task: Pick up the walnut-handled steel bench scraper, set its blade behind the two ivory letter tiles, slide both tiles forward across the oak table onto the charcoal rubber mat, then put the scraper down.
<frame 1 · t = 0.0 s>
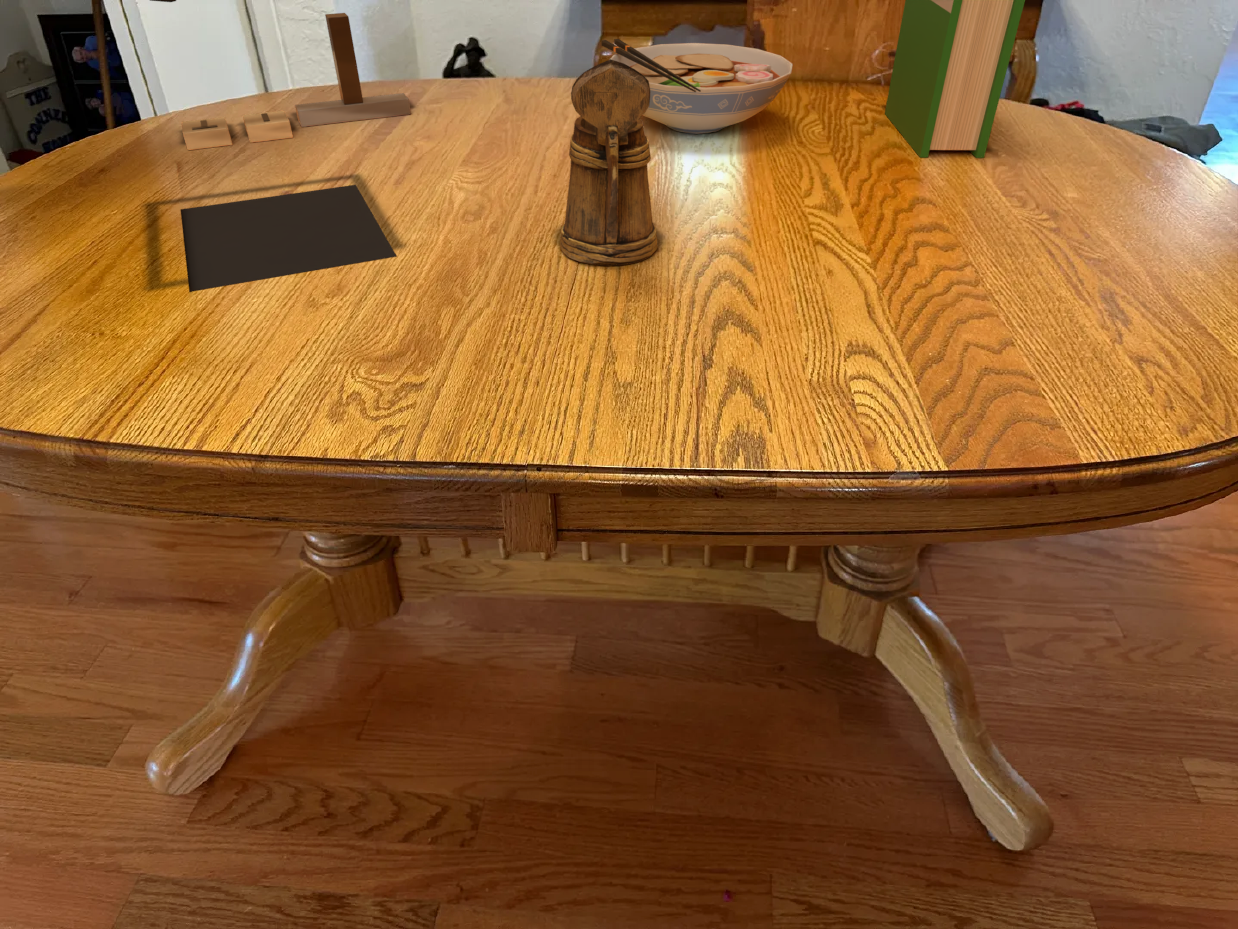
tile a: (209, 141, 103), on the table
hardback book: (930, 135, 106), on the table
ramen bowl: (695, 127, 109), on the table
tile b: (269, 134, 105), on the table
wooden mug: (609, 259, 77), on the table
scraper: (355, 117, 111), on the table
mat: (269, 234, 81), on the table
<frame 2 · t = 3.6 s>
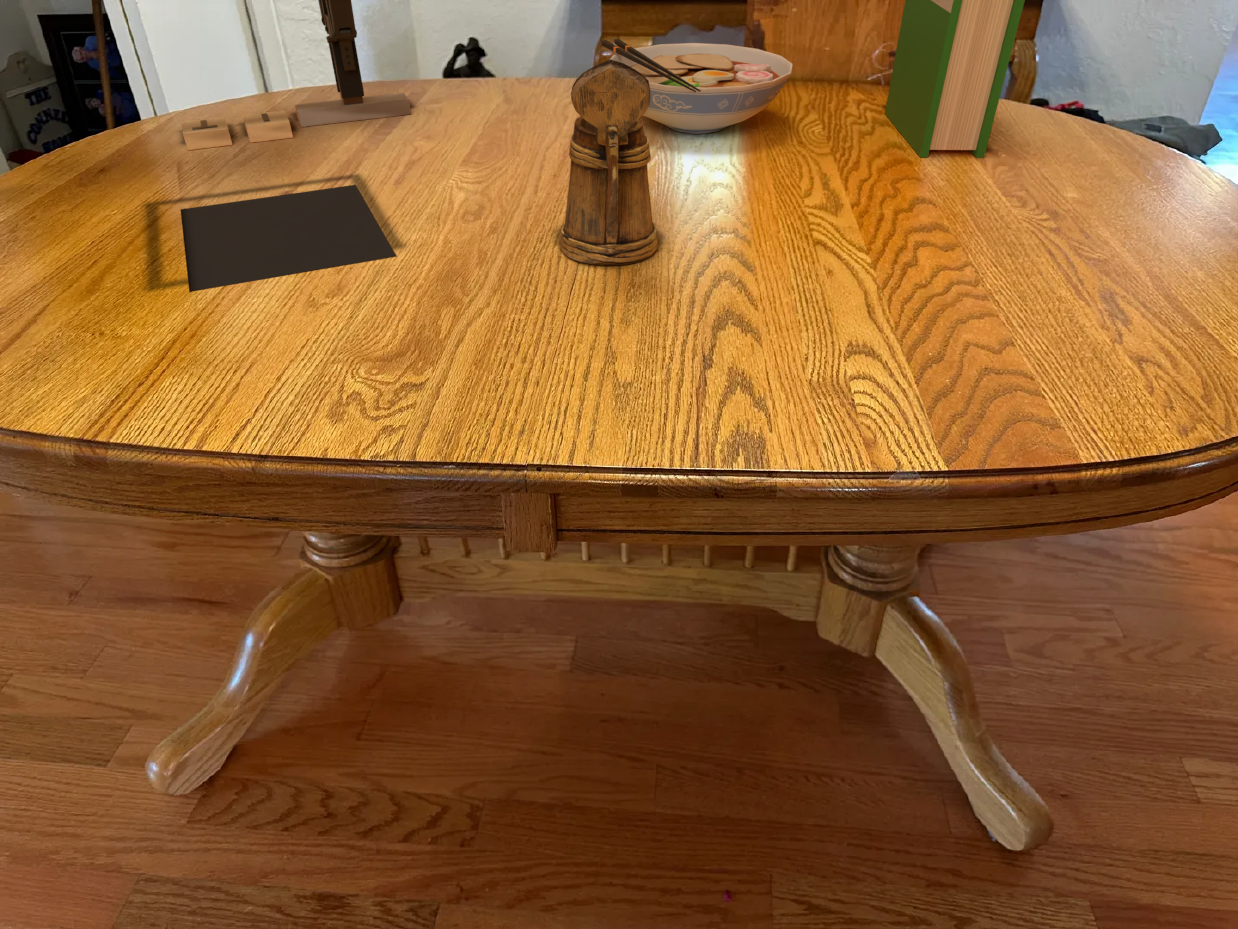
hand: (350, 93, 109), 3 cm above the table, tool pointing down, fingers closed on scraper, 2 cm apart
scraper: (355, 117, 111), on the table, touching gripper
everything else where it was.
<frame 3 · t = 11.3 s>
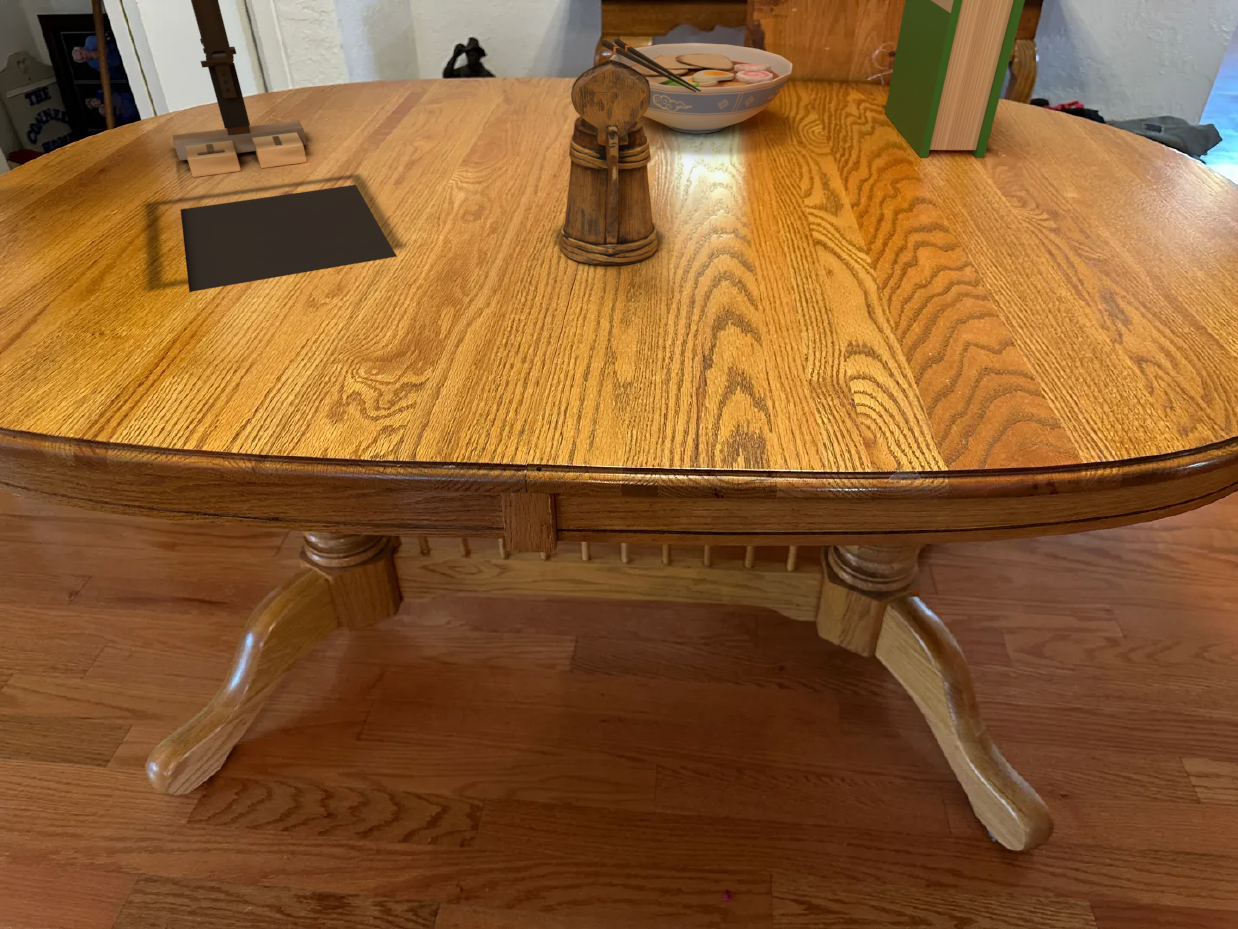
hand: (236, 121, 98), 3 cm above the table, tool pointing down, fingers closed on scraper, 2 cm apart
tile a: (215, 167, 96), on the table, touching scraper
tile b: (281, 158, 98), on the table
scraper: (243, 148, 100), on the table, touching gripper, tile a
everything else where it was.
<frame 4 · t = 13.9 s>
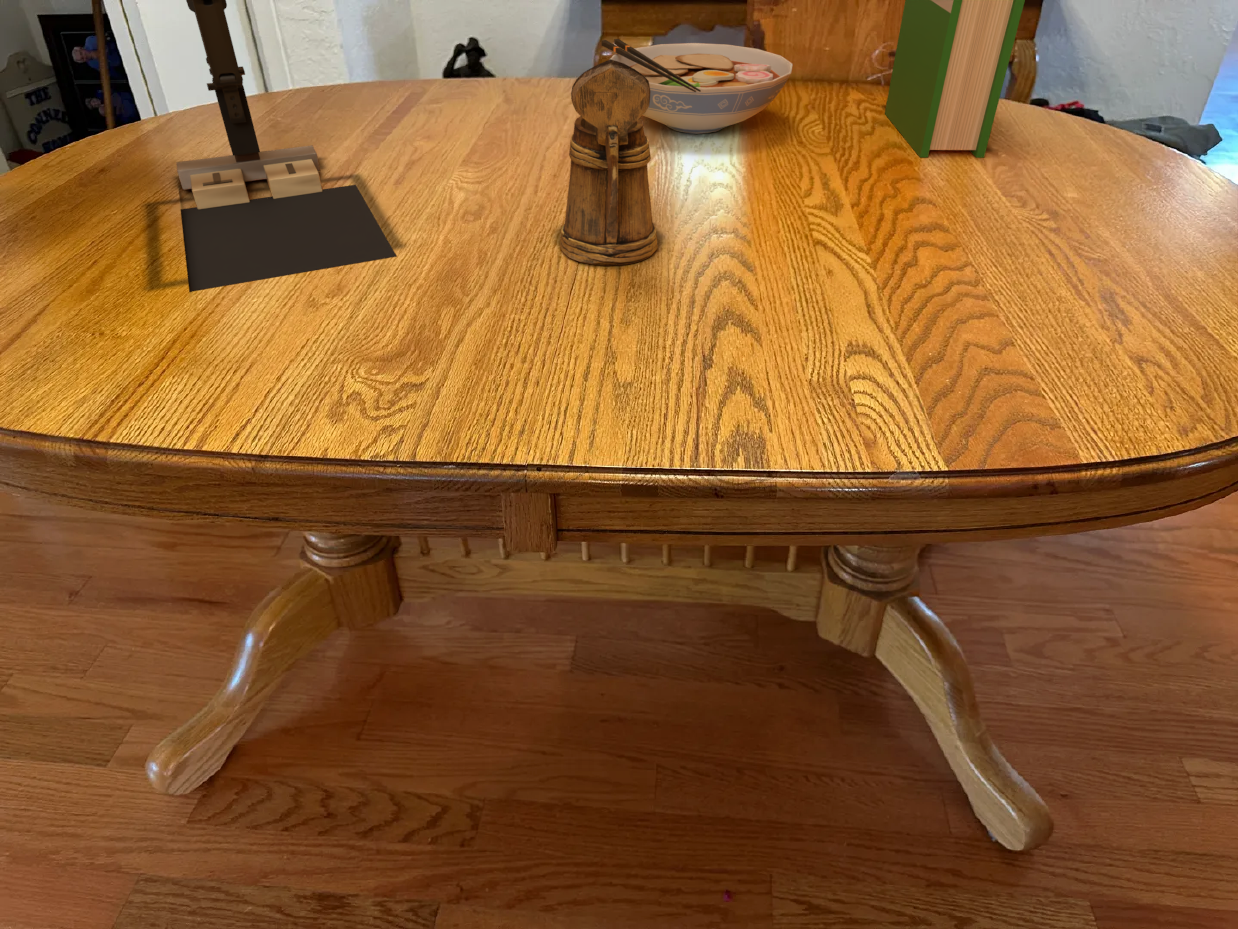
hand: (244, 147, 90), 4 cm above the table, tool pointing down, fingers closed on scraper, 2 cm apart
tile a: (222, 197, 88), on the table, touching mat
tile b: (295, 187, 91), on the table, touching mat
scraper: (252, 176, 92), point 1 cm above the table, touching gripper
everything else where it was.
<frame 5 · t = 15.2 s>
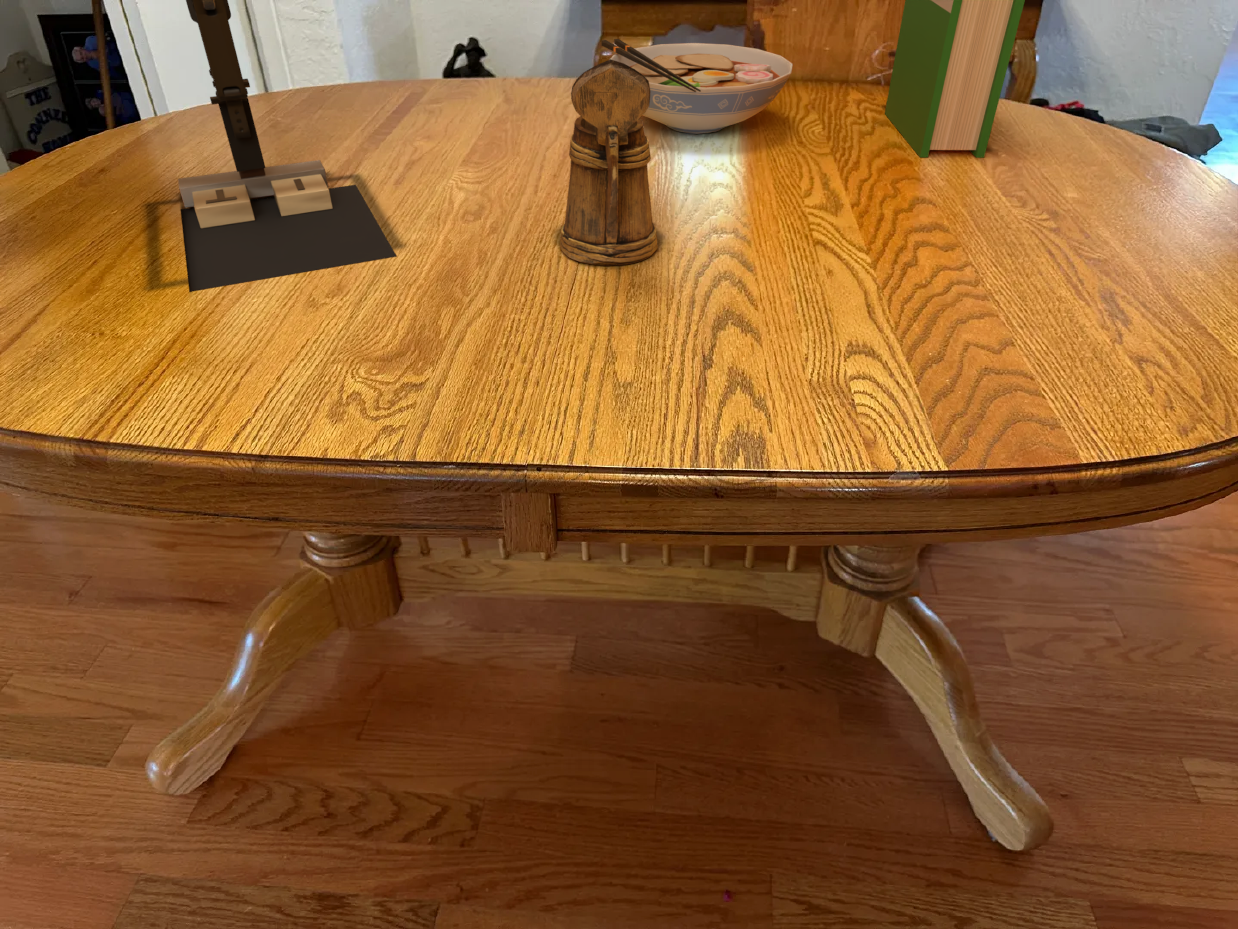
hand: (249, 163, 86), 4 cm above the table, tool pointing down, fingers closed on scraper, 2 cm apart
tile a: (226, 215, 85), on the table, touching mat
tile b: (303, 204, 87), on the table, touching mat, scraper
scraper: (257, 192, 88), on the table, touching gripper, tile b
everything else where it was.
when the fingers open (3 cm above the table, at t = 18.4 s): scraper stays where it is, resting on mat.
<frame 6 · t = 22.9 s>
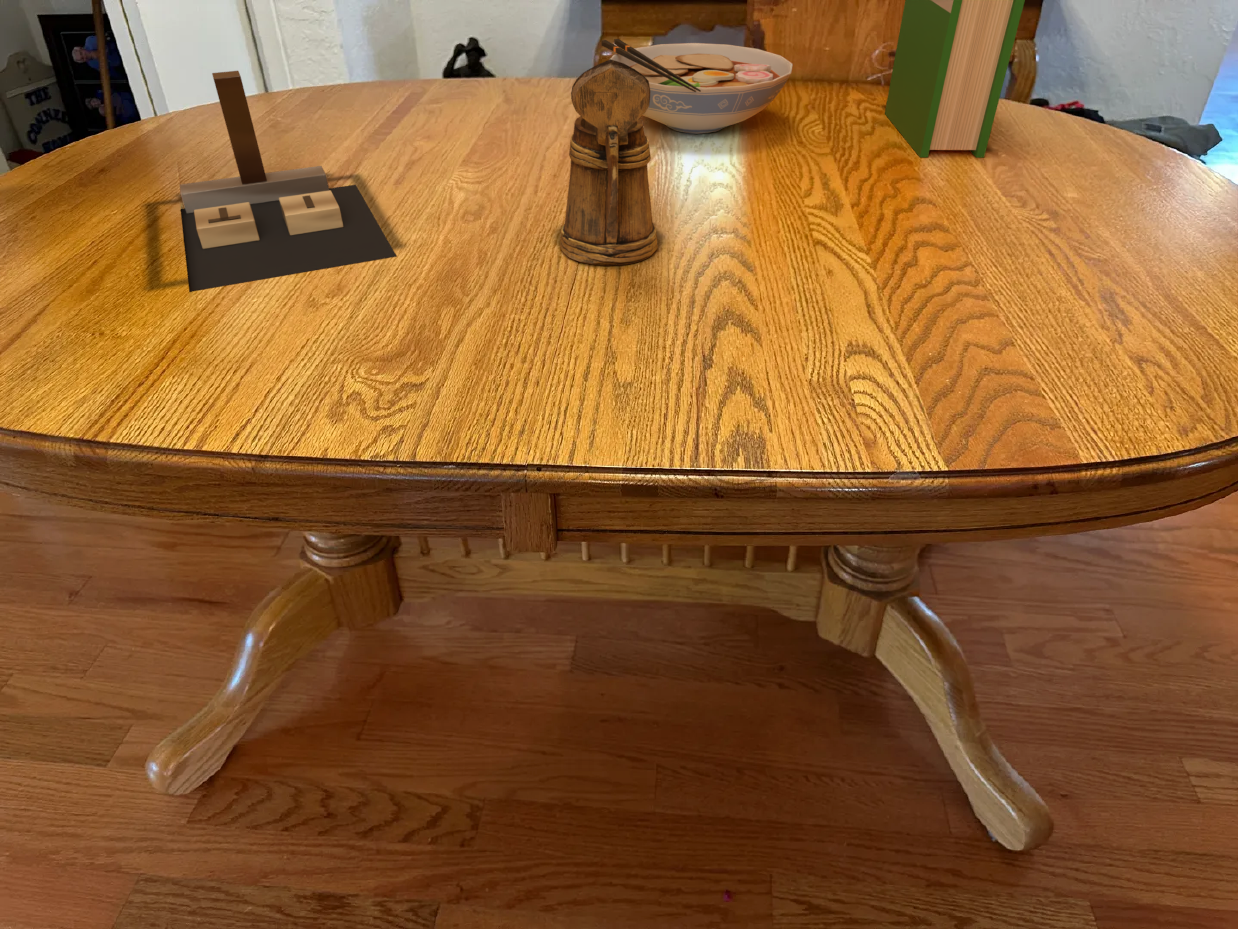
tile a: (229, 235, 81), on the table, touching mat
tile b: (313, 222, 83), on the table, touching mat
scraper: (258, 198, 88), resting on mat
everything else where it was.
at the end: tile a inside the target area on the mat (3.6 cm from its centre), point 0.1 cm above the mat's base; tile b inside the target area on the mat (4.4 cm from its centre), point 0.1 cm above the mat's base; the gripper is holding nothing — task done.
